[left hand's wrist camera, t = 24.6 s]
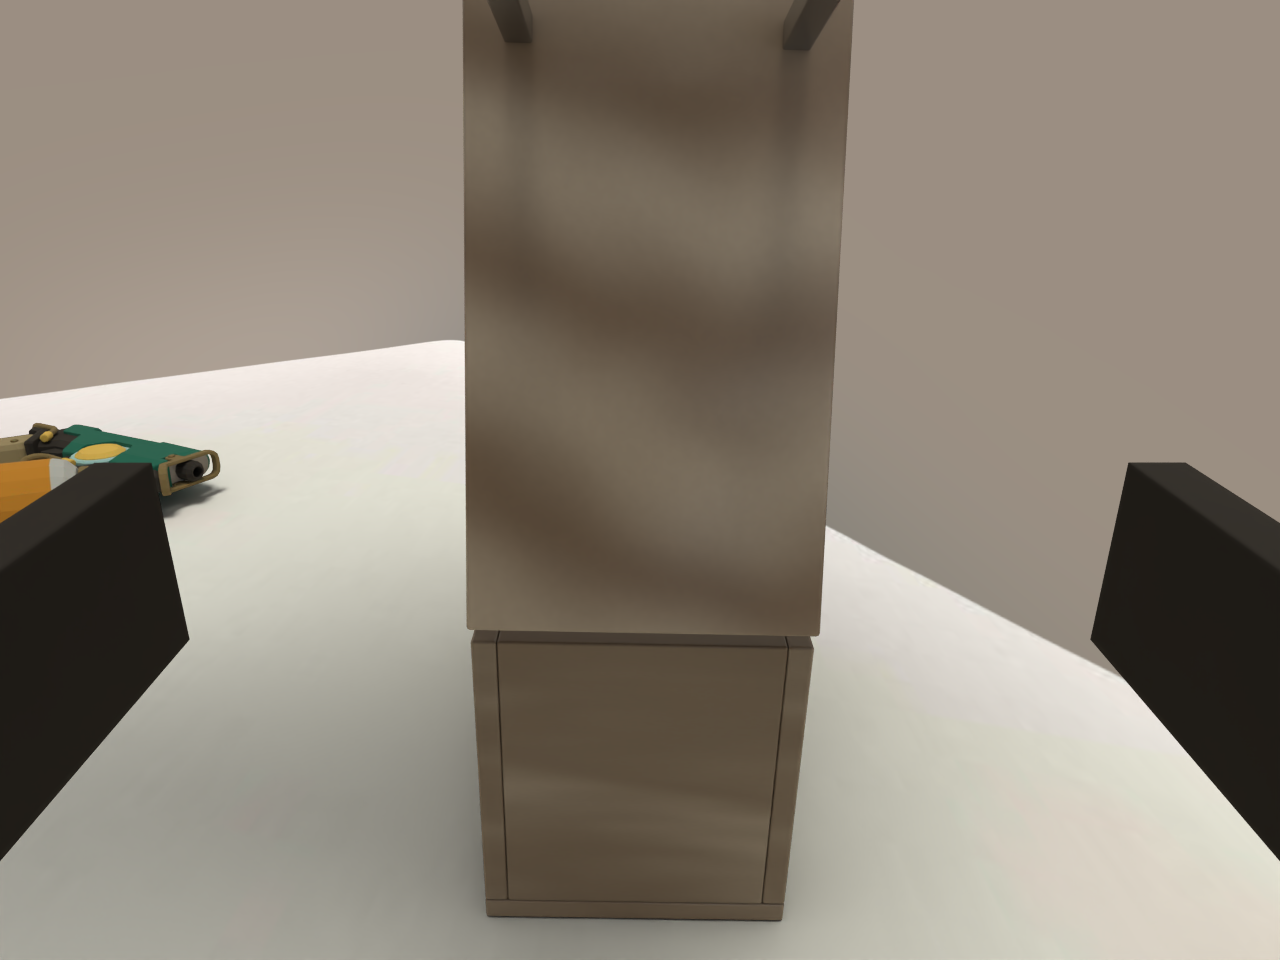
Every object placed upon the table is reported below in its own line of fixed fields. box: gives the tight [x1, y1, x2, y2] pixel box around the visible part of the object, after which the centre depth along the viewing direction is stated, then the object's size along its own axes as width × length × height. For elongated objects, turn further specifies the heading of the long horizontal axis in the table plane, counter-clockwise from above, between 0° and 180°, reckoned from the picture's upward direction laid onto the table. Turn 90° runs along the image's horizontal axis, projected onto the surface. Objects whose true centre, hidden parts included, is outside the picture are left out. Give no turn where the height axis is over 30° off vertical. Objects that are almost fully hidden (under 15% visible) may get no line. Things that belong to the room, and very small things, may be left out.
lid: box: [463, 0, 854, 636], centre depth 20 cm, size 18×10×9 cm
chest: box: [471, 630, 814, 920], centre depth 35 cm, size 17×10×10 cm, turn 0°
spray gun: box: [0, 423, 220, 523], centre depth 57 cm, size 4×17×15 cm
